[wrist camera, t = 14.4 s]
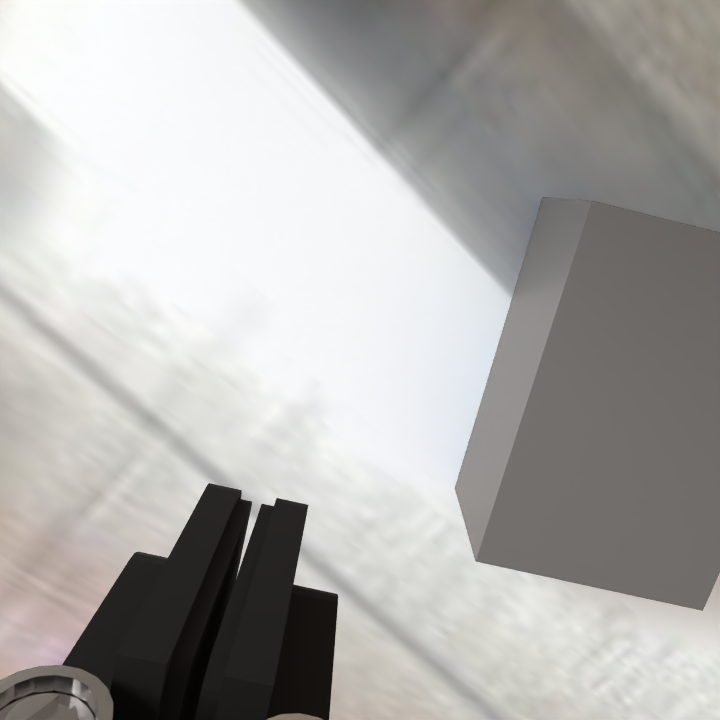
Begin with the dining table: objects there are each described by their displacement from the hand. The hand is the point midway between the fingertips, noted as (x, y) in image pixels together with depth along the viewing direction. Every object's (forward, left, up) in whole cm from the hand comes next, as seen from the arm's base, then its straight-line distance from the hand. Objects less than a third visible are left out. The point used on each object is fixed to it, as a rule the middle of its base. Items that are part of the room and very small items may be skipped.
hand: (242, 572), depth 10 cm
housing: (+1, +16, -27) cm, 31 cm away
